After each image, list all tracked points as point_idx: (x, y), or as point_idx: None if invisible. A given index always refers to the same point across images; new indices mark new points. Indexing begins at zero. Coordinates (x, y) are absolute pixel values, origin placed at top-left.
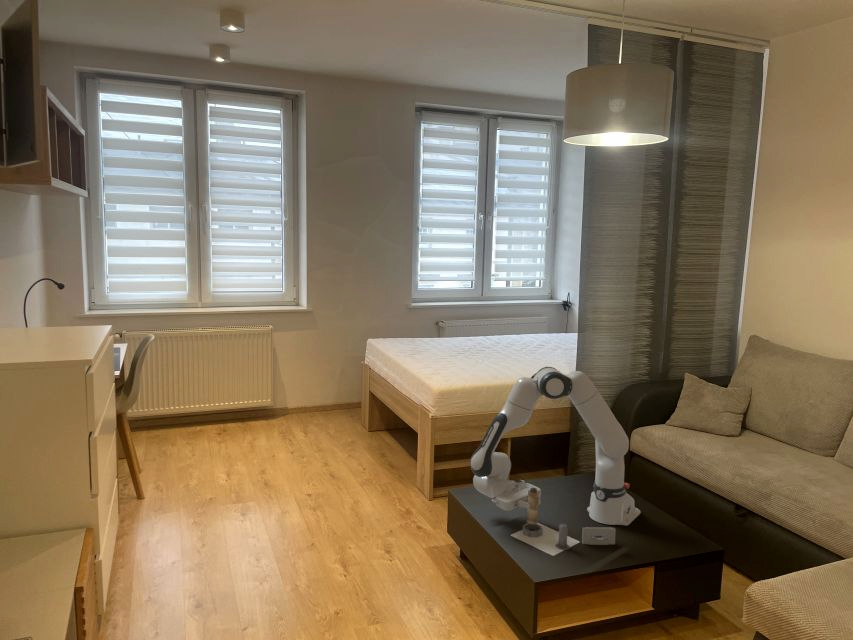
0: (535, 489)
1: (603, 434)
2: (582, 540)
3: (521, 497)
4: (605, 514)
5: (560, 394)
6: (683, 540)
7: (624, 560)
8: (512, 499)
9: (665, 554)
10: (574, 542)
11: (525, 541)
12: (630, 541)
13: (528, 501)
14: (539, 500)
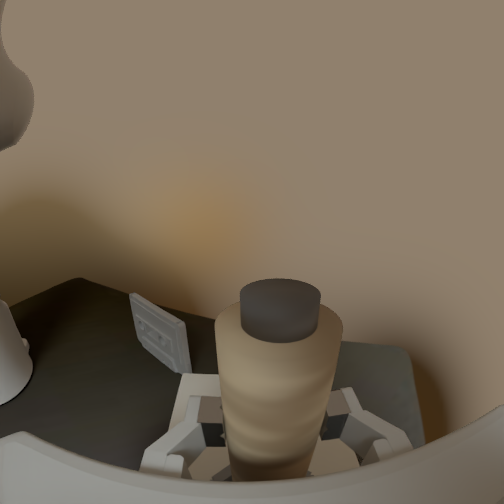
0: (272, 283)
1: (8, 67)
2: (189, 358)
3: (357, 469)
4: (16, 352)
5: None
6: (63, 294)
7: (183, 316)
8: (473, 435)
9: (120, 296)
10: (200, 380)
11: (350, 461)
12: (96, 329)
13: (326, 407)
14: (203, 396)
